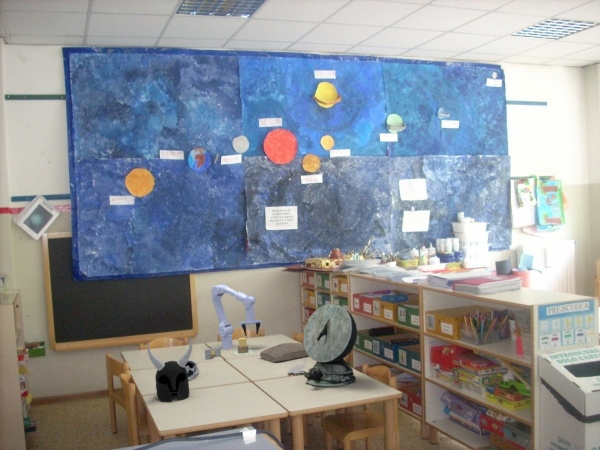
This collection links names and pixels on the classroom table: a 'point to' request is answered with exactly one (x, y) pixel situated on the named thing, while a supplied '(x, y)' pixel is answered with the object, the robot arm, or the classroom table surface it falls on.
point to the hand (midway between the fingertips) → (251, 335)
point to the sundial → (330, 345)
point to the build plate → (243, 353)
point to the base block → (242, 349)
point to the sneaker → (191, 369)
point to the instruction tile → (212, 353)
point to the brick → (242, 342)
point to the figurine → (297, 368)
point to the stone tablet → (284, 352)
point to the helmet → (171, 376)
